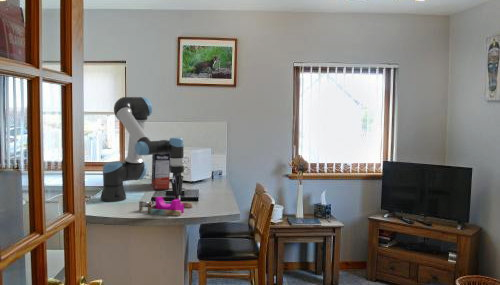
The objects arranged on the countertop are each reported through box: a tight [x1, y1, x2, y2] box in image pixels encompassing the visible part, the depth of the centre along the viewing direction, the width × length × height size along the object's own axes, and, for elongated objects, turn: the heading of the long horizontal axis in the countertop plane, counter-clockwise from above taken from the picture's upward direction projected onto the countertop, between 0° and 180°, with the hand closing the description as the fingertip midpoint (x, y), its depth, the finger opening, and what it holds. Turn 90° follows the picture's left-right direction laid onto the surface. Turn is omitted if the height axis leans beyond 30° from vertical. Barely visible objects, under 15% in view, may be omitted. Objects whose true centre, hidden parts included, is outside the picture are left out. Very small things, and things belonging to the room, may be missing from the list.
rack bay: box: [147, 199, 194, 217], centre depth 234 cm, size 18×20×3 cm
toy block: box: [154, 196, 185, 214], centre depth 231 cm, size 15×6×8 cm, turn 58°
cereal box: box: [151, 153, 171, 191], centre depth 301 cm, size 27×11×32 cm, turn 17°
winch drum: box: [138, 200, 155, 212], centre depth 234 cm, size 7×5×5 cm, turn 79°
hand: (177, 206), depth 234 cm, fingers closed
